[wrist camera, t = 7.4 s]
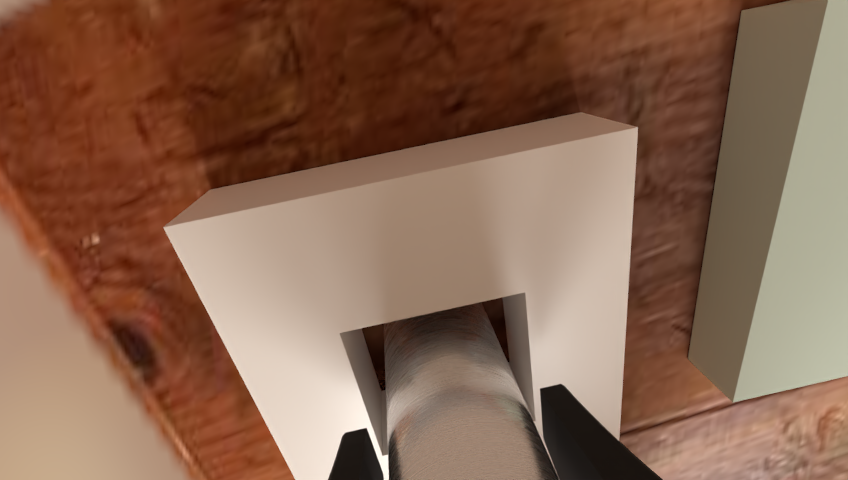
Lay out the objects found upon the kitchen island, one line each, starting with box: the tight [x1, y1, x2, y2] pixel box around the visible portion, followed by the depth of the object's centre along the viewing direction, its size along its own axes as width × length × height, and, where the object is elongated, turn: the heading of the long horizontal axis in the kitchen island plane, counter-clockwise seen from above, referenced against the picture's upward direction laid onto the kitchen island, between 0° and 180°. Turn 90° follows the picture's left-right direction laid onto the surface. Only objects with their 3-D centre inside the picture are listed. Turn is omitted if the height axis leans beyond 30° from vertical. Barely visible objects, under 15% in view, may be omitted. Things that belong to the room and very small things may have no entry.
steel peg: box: [384, 302, 559, 480], centre depth 11 cm, size 4×4×9 cm
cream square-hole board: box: [163, 112, 638, 480], centre depth 14 cm, size 14×12×3 cm
